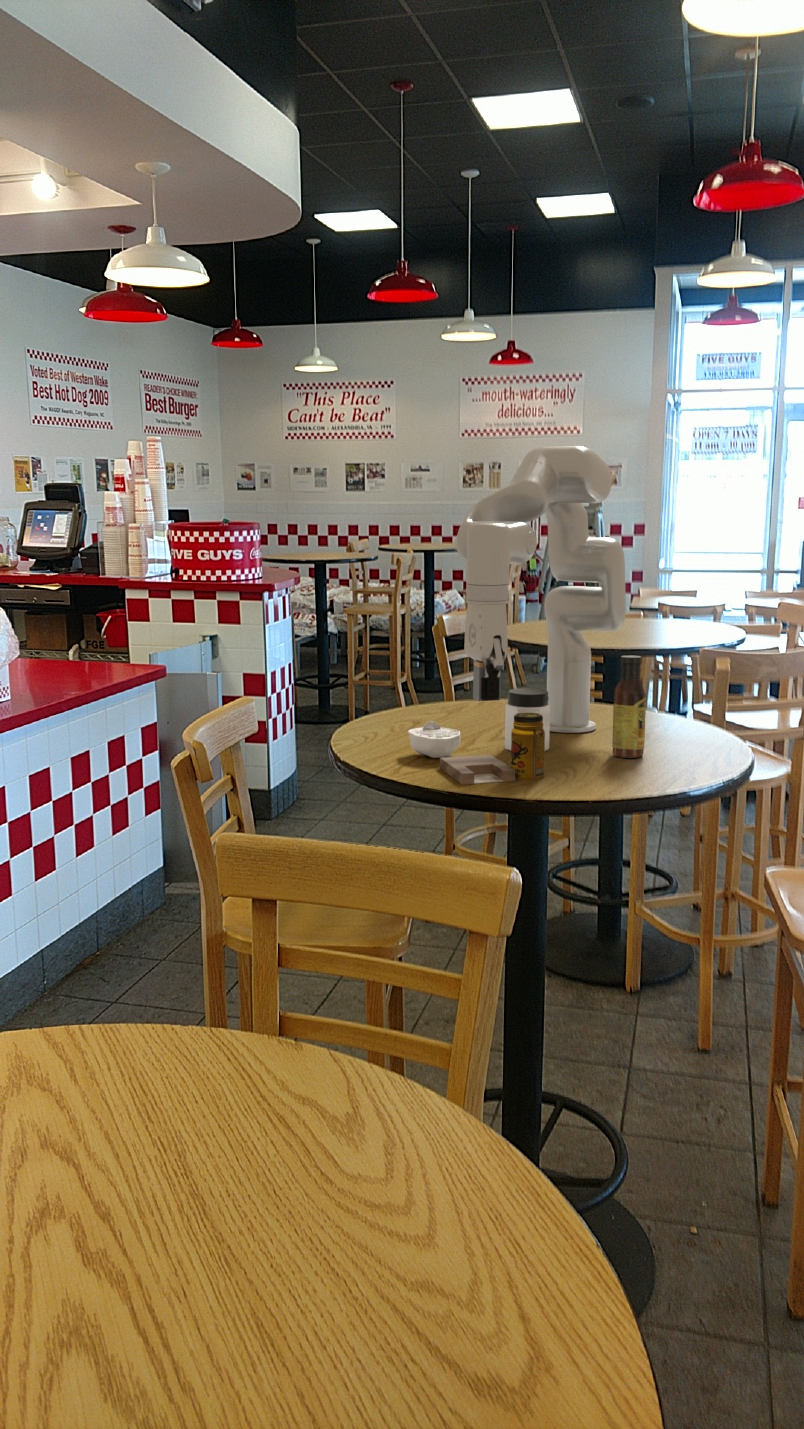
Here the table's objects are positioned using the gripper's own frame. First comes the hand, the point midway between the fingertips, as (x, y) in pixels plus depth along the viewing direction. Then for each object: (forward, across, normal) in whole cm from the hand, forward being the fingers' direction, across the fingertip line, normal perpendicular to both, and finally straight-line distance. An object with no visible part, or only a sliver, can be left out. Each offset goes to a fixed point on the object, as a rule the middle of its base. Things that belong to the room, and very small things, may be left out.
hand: (486, 697), depth 190 cm
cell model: (+15, -21, -3) cm, 26 cm away
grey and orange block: (0, 0, 0) cm, 0 cm away
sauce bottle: (+15, -10, +34) cm, 39 cm away
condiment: (+16, 0, +9) cm, 18 cm away
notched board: (+15, -4, 0) cm, 16 cm away
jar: (+15, -22, +17) cm, 31 cm away
